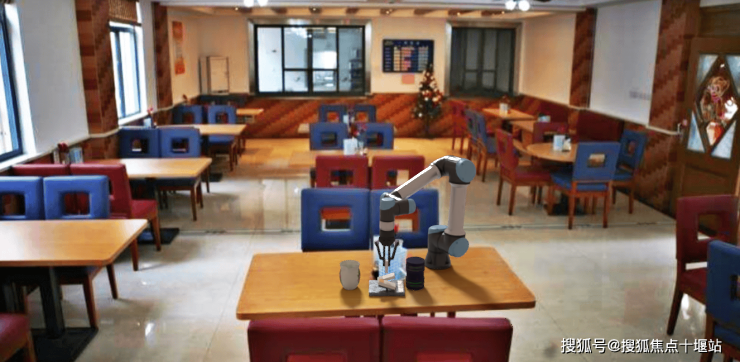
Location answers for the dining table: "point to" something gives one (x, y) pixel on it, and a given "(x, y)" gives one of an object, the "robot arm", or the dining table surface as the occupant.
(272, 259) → the dining table surface
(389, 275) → the paddle far
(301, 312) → the dining table surface
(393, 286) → the paddle near
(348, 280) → the pitcher
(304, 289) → the dining table surface
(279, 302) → the dining table surface
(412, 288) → the storage jar
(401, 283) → the breaker panel
